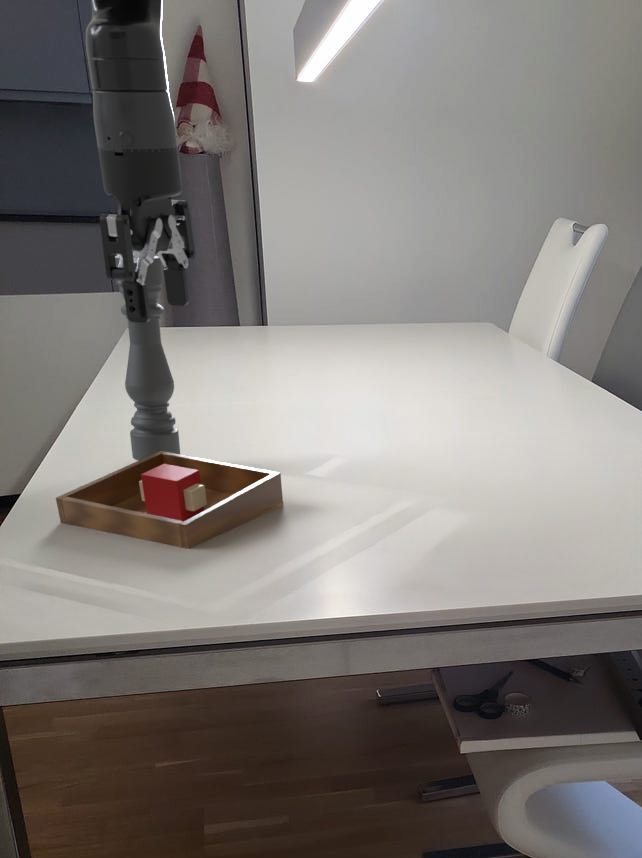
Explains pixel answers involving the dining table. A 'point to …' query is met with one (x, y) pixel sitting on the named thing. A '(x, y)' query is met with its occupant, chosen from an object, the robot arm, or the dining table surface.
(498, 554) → the dining table surface
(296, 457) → the dining table surface
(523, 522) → the dining table surface
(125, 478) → the wooden tray
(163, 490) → the red and beige block
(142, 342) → the candle holder
